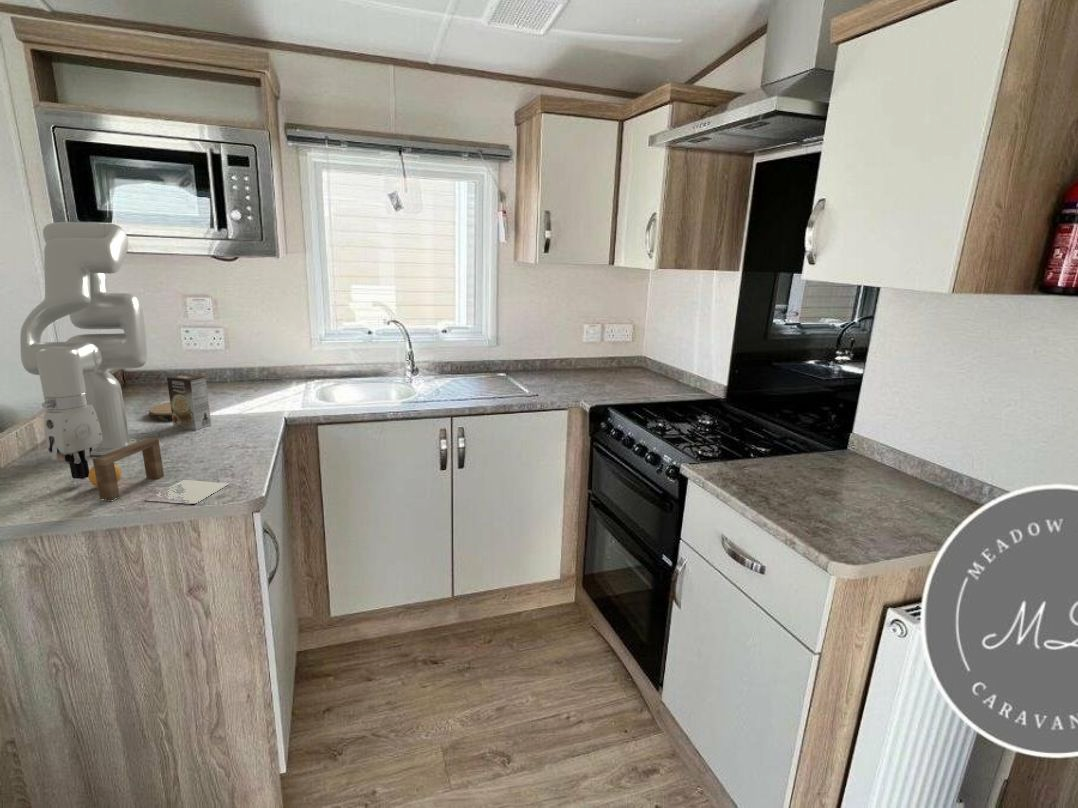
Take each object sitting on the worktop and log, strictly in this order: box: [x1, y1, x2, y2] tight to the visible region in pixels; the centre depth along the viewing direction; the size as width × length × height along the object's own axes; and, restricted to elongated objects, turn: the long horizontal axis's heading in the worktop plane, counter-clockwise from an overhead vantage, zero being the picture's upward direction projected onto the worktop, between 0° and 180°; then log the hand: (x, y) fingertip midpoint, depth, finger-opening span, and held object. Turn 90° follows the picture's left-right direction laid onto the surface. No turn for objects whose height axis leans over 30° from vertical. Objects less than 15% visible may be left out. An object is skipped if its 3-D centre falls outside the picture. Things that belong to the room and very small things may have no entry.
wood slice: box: [148, 401, 173, 422], centre depth 191 cm, size 16×16×3 cm
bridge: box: [92, 437, 165, 500], centre depth 132 cm, size 3×15×10 cm, turn 172°
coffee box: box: [166, 372, 212, 431], centre depth 178 cm, size 9×6×16 cm
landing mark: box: [155, 479, 231, 504], centre depth 132 cm, size 12×12×1 cm
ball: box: [88, 463, 122, 488], centre depth 133 cm, size 6×6×6 cm
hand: (81, 477), depth 135 cm, fingers closed
